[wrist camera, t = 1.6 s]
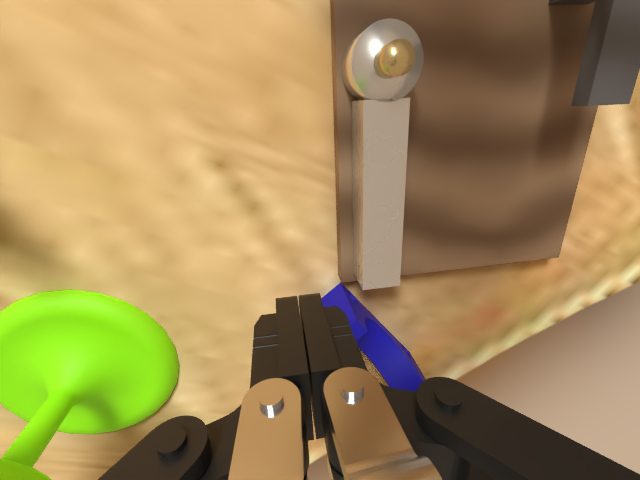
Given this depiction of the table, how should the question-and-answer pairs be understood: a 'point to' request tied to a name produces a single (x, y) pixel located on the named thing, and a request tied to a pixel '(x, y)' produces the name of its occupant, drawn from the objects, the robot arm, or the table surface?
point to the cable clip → (377, 341)
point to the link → (380, 144)
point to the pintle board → (490, 121)
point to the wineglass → (78, 370)
